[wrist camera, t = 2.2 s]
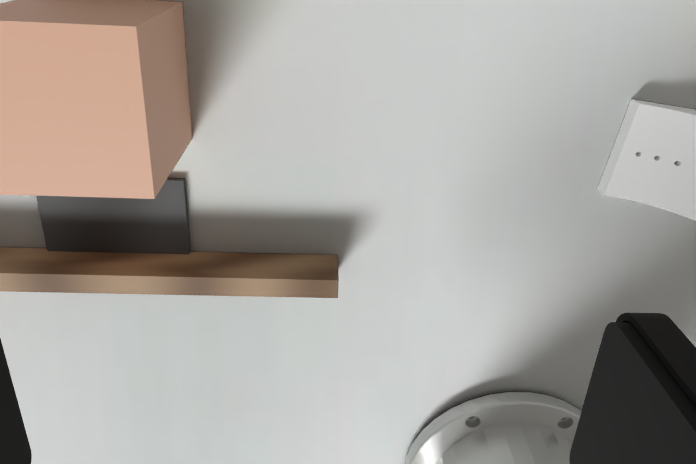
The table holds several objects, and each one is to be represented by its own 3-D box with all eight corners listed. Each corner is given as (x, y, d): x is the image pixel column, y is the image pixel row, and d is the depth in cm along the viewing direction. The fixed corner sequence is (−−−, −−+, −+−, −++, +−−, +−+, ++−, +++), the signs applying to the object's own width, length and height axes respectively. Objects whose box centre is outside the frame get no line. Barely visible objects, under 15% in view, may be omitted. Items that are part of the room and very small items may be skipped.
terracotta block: (182, 1, 25) (136, 26, 19) (192, 138, 28) (154, 198, 22) (36, -6, 25) (-59, 18, 19) (61, 133, 28) (-16, 194, 22)
